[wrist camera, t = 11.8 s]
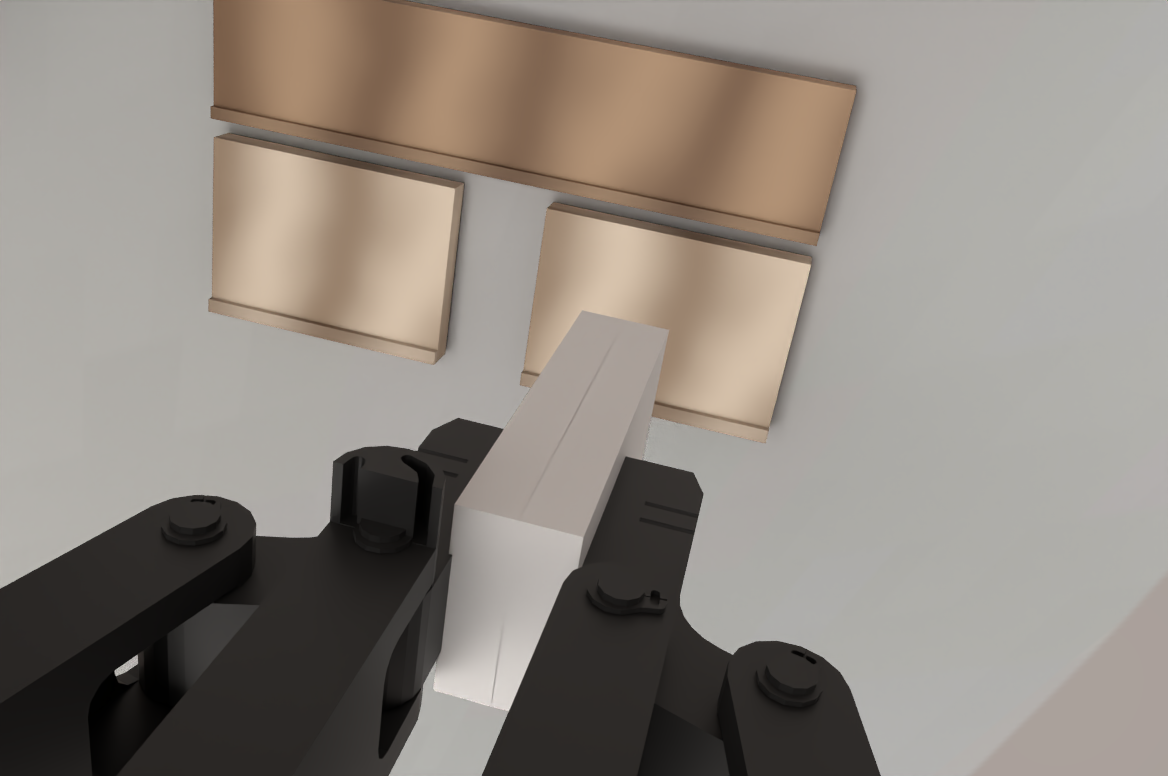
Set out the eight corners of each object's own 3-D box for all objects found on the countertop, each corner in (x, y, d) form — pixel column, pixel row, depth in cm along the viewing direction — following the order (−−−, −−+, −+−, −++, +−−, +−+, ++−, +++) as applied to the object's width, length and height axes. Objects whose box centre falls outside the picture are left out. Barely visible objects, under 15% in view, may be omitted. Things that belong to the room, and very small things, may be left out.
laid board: (229, 112, 46) (210, 118, 44) (230, -33, 43) (210, -32, 42) (817, 235, 42) (816, 245, 41) (855, 86, 40) (856, 91, 38)
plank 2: (528, 372, 48) (519, 385, 46) (553, 202, 44) (545, 210, 43) (767, 428, 46) (765, 443, 45) (811, 256, 43) (811, 266, 41)
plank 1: (225, 301, 49) (208, 311, 48) (228, 133, 46) (210, 138, 45) (445, 353, 48) (433, 364, 47) (464, 183, 45) (452, 190, 43)
